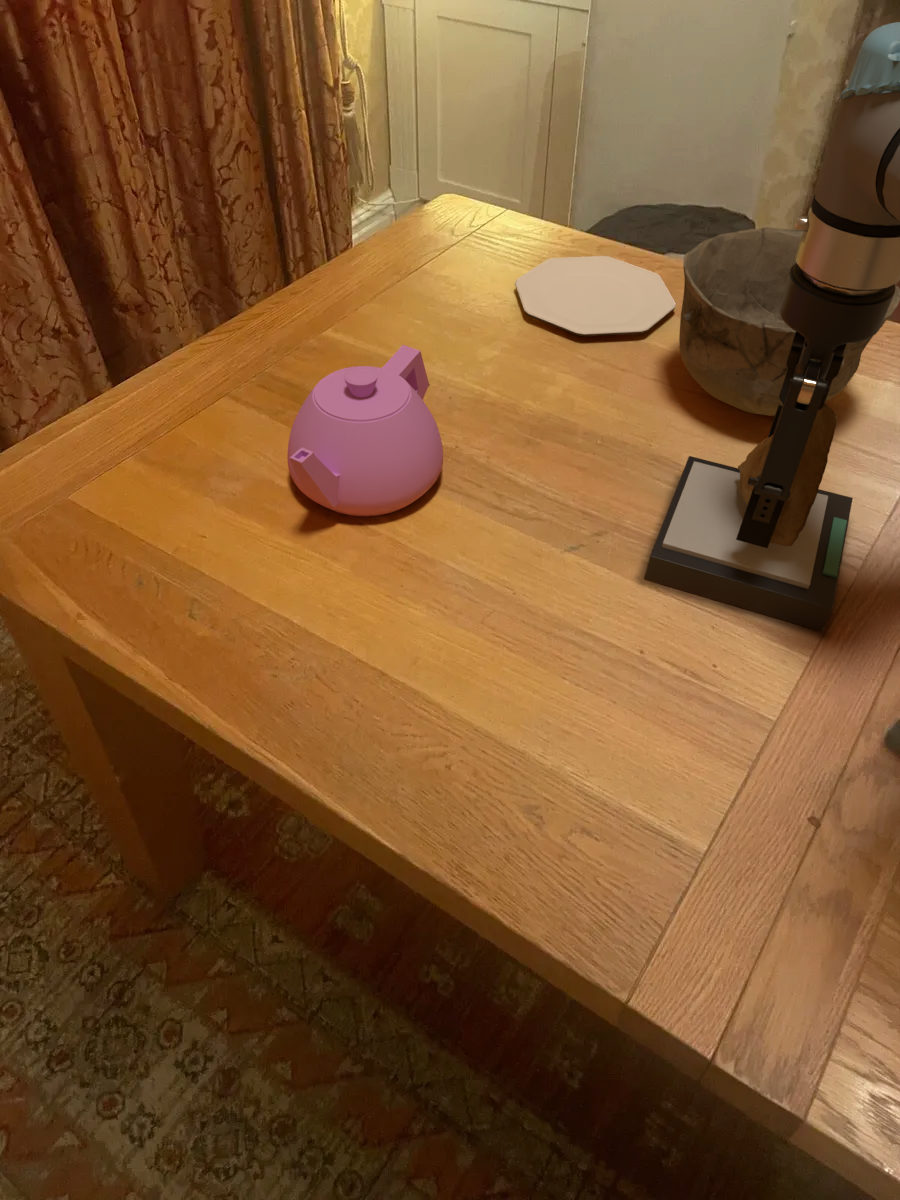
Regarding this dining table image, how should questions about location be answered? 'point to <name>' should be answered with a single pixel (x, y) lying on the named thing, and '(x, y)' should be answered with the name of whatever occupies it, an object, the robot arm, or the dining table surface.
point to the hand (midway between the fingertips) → (763, 503)
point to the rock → (804, 479)
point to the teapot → (367, 438)
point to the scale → (748, 550)
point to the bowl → (746, 318)
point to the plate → (594, 296)
